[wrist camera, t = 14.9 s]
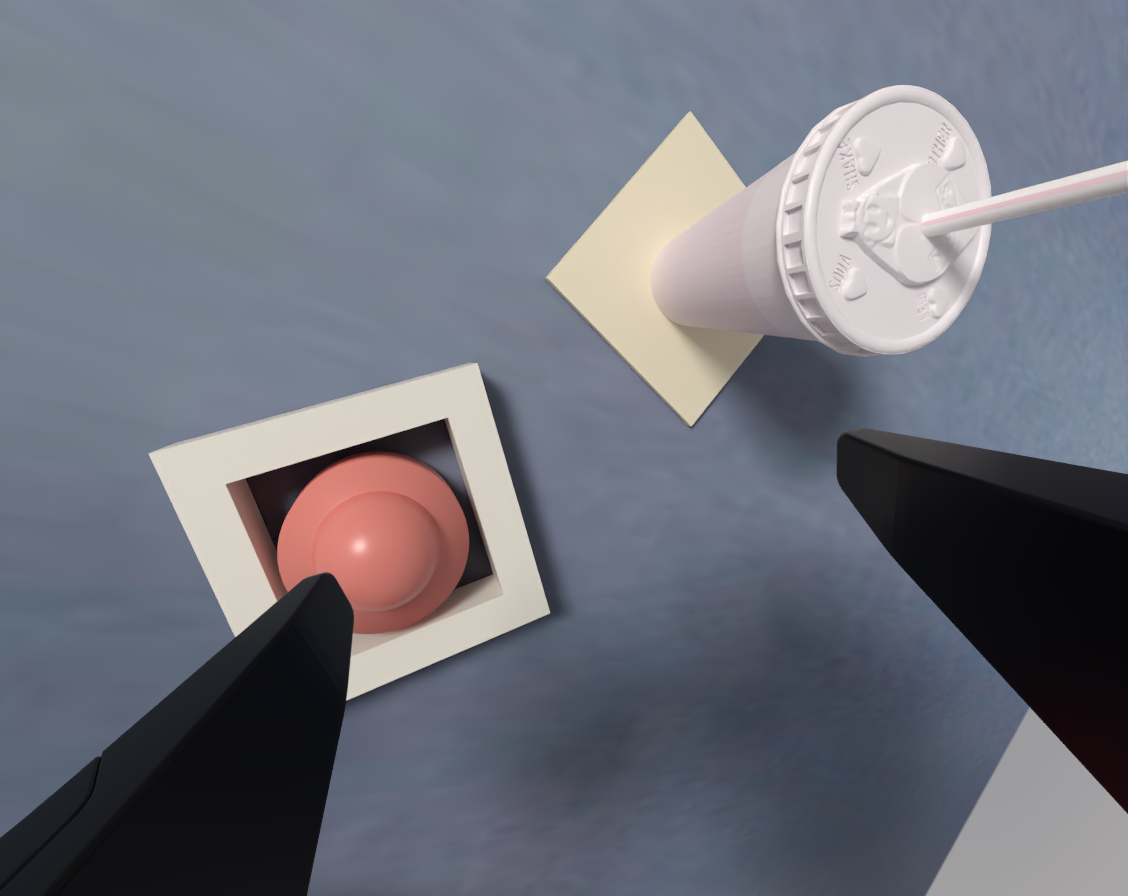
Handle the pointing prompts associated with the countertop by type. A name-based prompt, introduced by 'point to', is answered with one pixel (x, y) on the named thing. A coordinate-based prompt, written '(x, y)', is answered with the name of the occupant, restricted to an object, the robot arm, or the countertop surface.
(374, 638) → the dome base
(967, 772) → the countertop surface
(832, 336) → the smoothie
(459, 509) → the dome
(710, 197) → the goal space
